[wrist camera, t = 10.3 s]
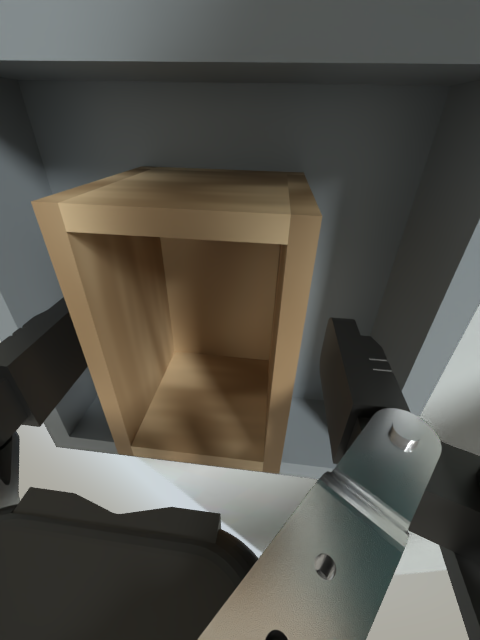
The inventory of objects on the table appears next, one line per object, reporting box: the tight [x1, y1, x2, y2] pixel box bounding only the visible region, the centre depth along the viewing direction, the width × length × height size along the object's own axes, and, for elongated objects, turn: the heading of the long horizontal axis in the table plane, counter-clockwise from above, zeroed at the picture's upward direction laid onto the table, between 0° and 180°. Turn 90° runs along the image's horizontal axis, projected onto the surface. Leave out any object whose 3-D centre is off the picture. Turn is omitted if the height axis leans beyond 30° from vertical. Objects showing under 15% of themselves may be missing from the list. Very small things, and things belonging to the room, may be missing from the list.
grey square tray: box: [0, 0, 480, 479], centre depth 12 cm, size 16×16×5 cm
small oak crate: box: [31, 166, 322, 474], centre depth 11 cm, size 6×9×6 cm, turn 178°
